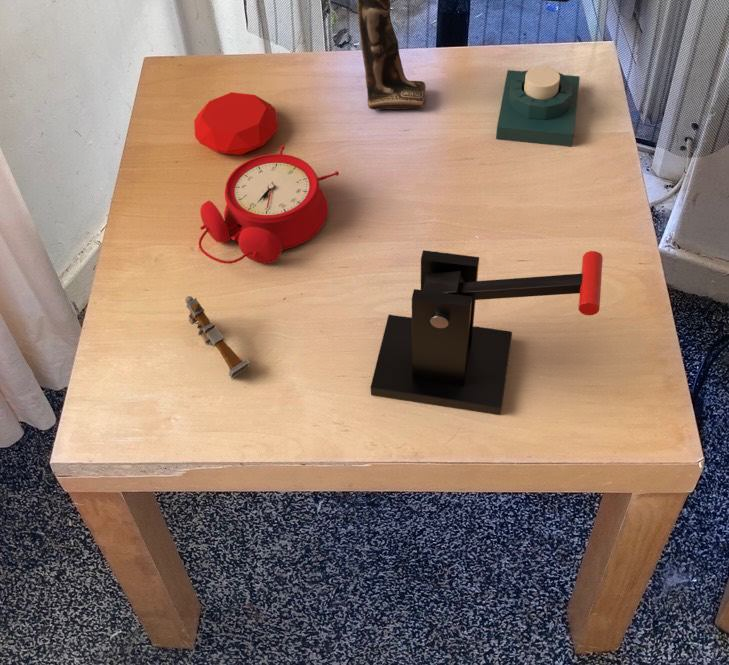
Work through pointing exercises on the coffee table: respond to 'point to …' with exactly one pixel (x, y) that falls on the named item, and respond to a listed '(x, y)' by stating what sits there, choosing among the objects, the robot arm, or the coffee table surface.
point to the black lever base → (443, 347)
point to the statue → (385, 60)
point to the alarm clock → (268, 207)
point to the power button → (541, 82)
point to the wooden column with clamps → (214, 337)
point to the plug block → (538, 112)
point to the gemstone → (235, 123)
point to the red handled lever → (528, 285)
